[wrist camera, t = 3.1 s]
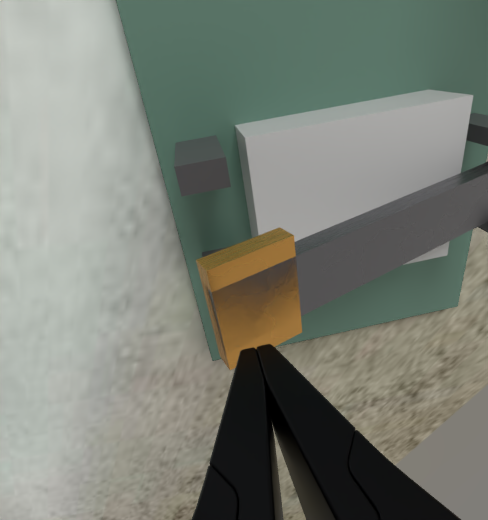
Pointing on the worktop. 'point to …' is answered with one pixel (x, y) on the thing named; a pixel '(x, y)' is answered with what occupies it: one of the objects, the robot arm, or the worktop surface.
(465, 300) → the worktop surface
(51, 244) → the worktop surface
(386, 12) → the board
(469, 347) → the worktop surface
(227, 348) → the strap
